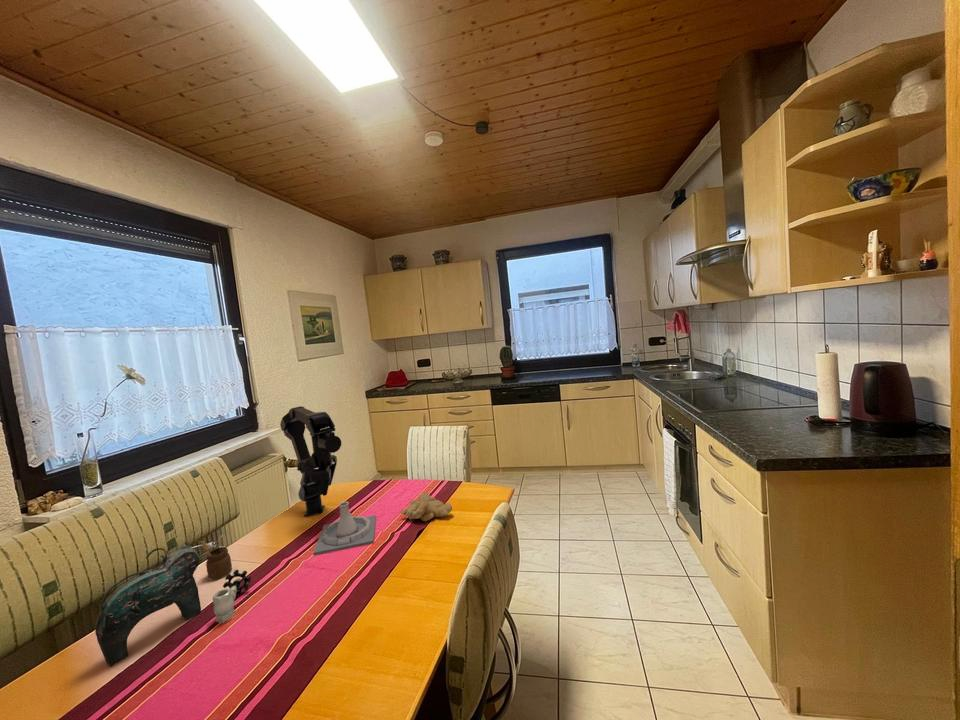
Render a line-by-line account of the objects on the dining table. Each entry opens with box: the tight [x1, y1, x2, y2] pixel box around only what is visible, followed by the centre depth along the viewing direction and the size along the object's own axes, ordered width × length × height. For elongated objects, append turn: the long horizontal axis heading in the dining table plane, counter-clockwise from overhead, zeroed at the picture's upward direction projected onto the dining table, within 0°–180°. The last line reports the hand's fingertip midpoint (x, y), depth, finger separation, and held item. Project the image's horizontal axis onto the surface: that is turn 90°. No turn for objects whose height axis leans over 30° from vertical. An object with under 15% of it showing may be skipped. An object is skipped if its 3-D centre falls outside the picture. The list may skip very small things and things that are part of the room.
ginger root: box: [400, 491, 453, 522], centre depth 137 cm, size 16×16×8 cm
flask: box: [336, 501, 358, 537], centre depth 129 cm, size 7×7×10 cm
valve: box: [212, 569, 253, 624], centre depth 98 cm, size 7×7×12 cm
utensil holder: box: [200, 534, 233, 581], centre depth 113 cm, size 6×6×12 cm
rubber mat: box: [312, 515, 377, 556], centre depth 129 cm, size 18×18×1 cm
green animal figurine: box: [94, 541, 202, 667], centre depth 90 cm, size 20×6×20 cm, turn 150°
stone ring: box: [322, 515, 371, 546], centre depth 129 cm, size 15×15×2 cm
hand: (327, 490), depth 139 cm, fingers open, 9 cm apart
